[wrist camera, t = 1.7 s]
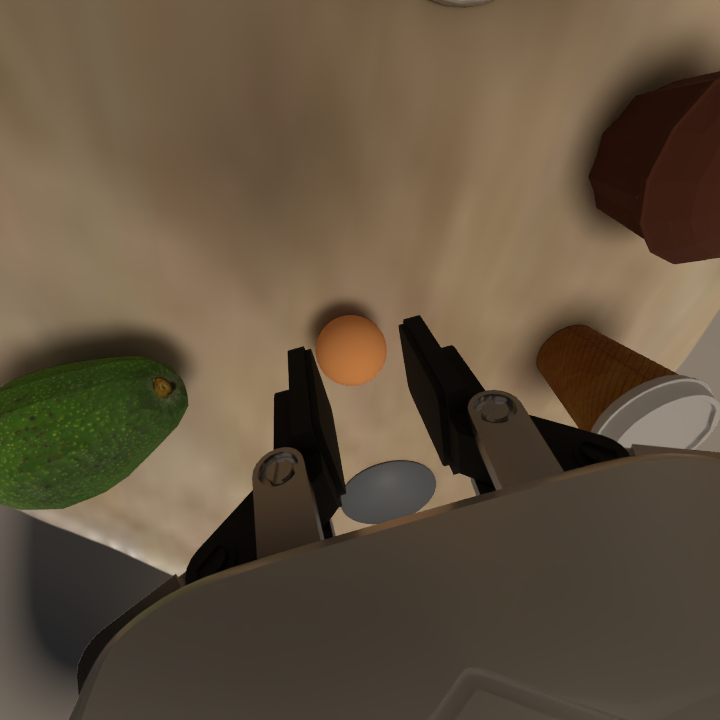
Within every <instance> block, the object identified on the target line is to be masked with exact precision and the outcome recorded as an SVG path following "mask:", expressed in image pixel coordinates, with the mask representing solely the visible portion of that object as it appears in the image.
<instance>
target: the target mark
mask: <svg viewBox="0 0 720 720" xmlns="http://www.w3.org/2000/svg"><path fill="white" fill-rule="evenodd" d="M345 487H346V494H345V495H341V502H342V507H341V508H342V510H343V512H344V513H345V514H346V515H347V516H348V517H349V518H351V519H353V520H355V521H357V522H361V523H366V524H380V523H383V522H387V521H390V520H394V519H397V518H401V517H404V516H408V515H411V514H414V513H415V512H417V511H418V510H420V509H421V508H422V507H423V506H425V505H426V504H427V503H428V502H429V500H430V499H431V498H432V496H433V494H434V492H435V488H436V480H435V477H434V475H433V473H432V472H431V471H430V470H429V469H428V468H427V467H426V466H424V465H422V464H419V463H416V462H412V461H390V462H385V463H380V464H377V465H374V466H372V467H370V468H367V469H365V470H364V471H362V472H360V473H359V474H357V475H356V476H355V477H353V478H352V479H351V480H350V481H349V482H348V483H347V484H346V486H345Z"/></svg>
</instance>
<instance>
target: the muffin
mask: <svg viewBox="0 0 720 720" xmlns="http://www.w3.org/2000/svg"><path fill="white" fill-rule="evenodd" d="M589 180H590V182H591V185H592V187H593V190H594V194H595V201H596V207H597V208H598V209H599V210H601V211H602V212H604V213H605V214H607V215H609V216H610V217H612V218H613V219H615V220H616V221H618V222H619V223H621V224H622V225H624V226H625V227H627V228H628V229H630V230H631V231H633V232H634V233H636V234H637V235H639V236H640V237H642V238H643V239H645V242H646V244H647V246H648V248H649V250H650V252H651V253H653V254H655V255H657V256H659V257H660V258H662V259H664V260H666V261H668V262H670V263H672V264H680V263H687V262H694V261H701V260H707V259H713V258H720V71H719V72H715V73H710V74H706V75H701V76H697V77H692V78H688V79H683V80H679V81H675V82H673V83H671V84H669V85H666V86H664V87H662V88H660V89H658V90H656V91H653V92H649V93H645V94H641V95H638V96H636V97H635V98H634V99H633V101H632V102H631V103H630V104H629V106H628V107H627V108H626V110H625V111H624V112H623V113H622V115H621V116H620V117H619V118H618V119H617V120H616V121H615V122H614V123H613V124H612V125H611V126H610V127H609V128H608V129H607V130H606V131H605V132H604V133H603V134H602V138H601V142H600V146H599V150H598V154H597V157H596V159H595V162H594V164H593V167H592V169H591V172H590V174H589Z"/></svg>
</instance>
